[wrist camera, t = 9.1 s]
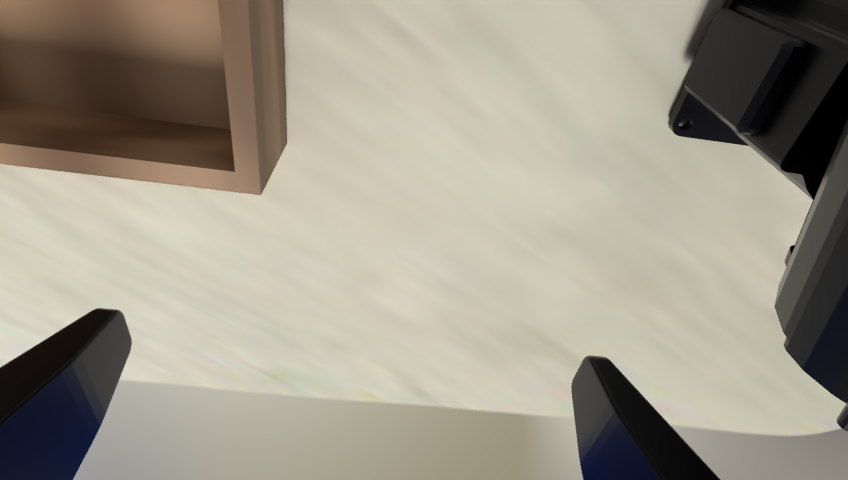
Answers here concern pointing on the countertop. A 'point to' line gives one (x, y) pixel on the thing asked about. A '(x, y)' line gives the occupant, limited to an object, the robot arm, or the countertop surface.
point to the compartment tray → (145, 89)
